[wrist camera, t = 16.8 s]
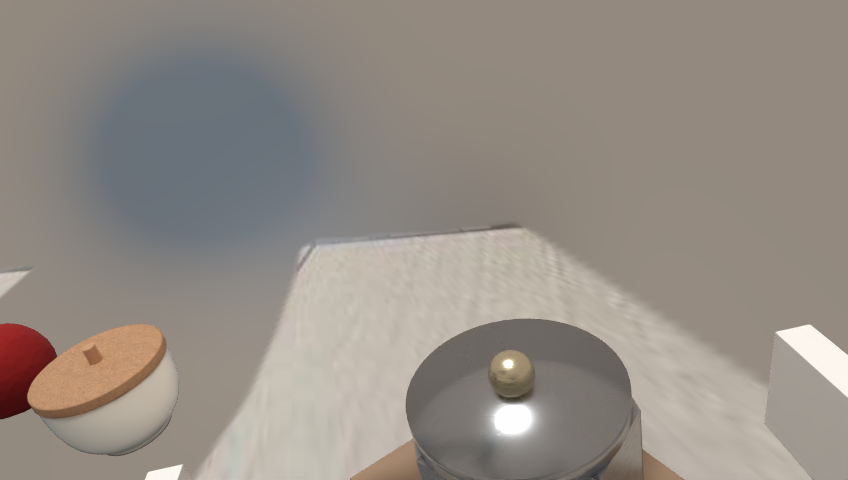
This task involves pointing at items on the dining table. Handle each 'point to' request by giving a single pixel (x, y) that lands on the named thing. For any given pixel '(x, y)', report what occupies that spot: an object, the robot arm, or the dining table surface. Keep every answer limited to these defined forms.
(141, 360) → the lidded jar
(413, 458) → the serving board
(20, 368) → the apple
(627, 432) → the silver lidded pot
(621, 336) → the dining table surface
